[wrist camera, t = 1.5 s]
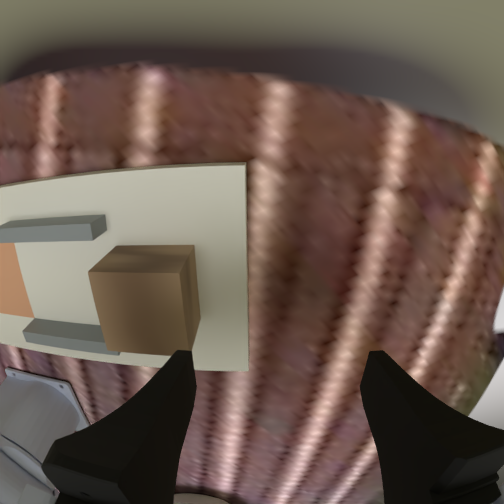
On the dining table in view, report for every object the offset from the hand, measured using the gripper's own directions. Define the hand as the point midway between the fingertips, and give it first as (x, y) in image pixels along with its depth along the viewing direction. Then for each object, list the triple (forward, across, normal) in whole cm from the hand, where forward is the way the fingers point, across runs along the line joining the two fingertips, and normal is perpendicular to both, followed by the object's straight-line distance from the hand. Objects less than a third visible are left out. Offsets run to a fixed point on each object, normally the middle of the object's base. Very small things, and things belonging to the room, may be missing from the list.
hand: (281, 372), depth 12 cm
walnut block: (+8, +7, 0) cm, 10 cm away
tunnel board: (+9, +18, 0) cm, 20 cm away
